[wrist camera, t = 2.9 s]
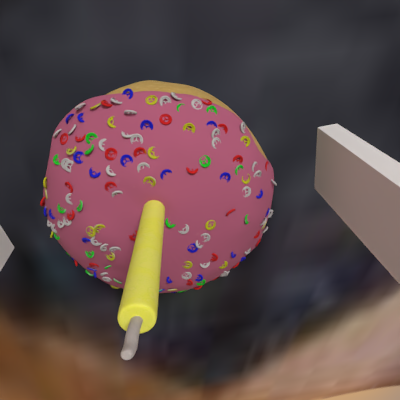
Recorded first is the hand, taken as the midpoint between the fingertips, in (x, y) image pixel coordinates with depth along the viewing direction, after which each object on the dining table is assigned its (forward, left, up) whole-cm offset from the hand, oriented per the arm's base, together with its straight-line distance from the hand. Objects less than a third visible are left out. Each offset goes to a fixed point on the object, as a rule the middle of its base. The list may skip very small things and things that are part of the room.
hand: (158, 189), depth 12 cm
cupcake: (0, 0, -4) cm, 4 cm away
